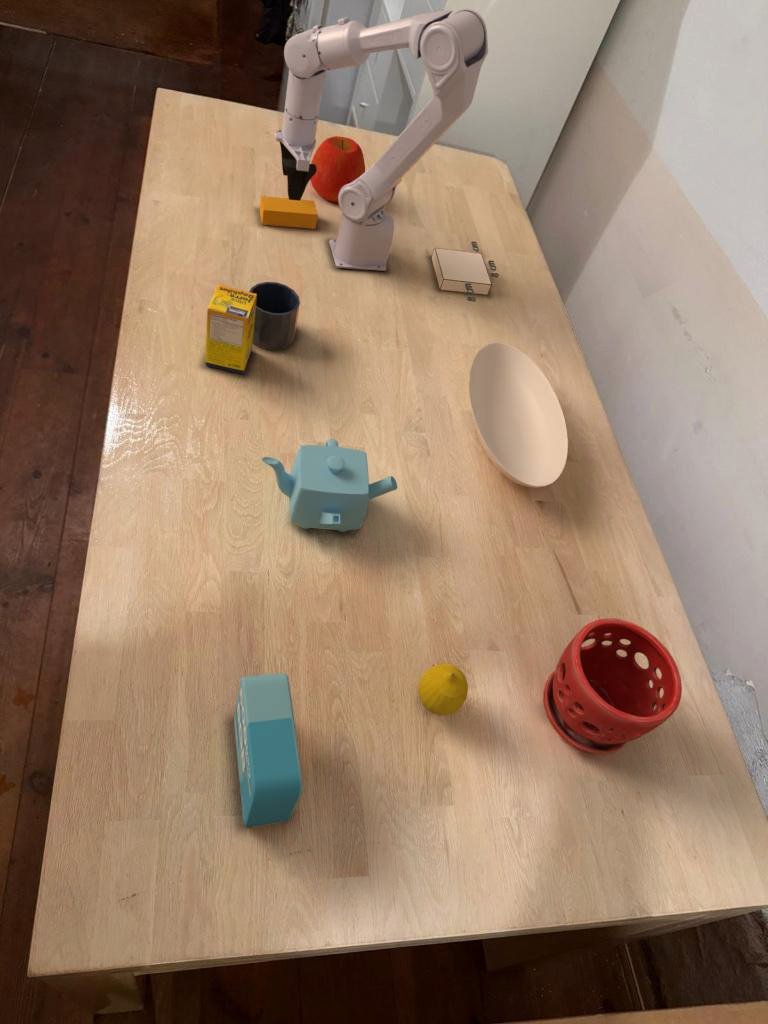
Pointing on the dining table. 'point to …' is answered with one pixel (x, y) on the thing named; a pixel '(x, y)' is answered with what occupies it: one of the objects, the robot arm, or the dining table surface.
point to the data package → (267, 750)
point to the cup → (274, 315)
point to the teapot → (329, 486)
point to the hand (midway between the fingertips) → (291, 186)
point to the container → (462, 271)
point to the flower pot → (610, 687)
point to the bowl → (517, 416)
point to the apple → (336, 166)
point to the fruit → (443, 689)
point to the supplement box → (230, 328)
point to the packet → (288, 212)
